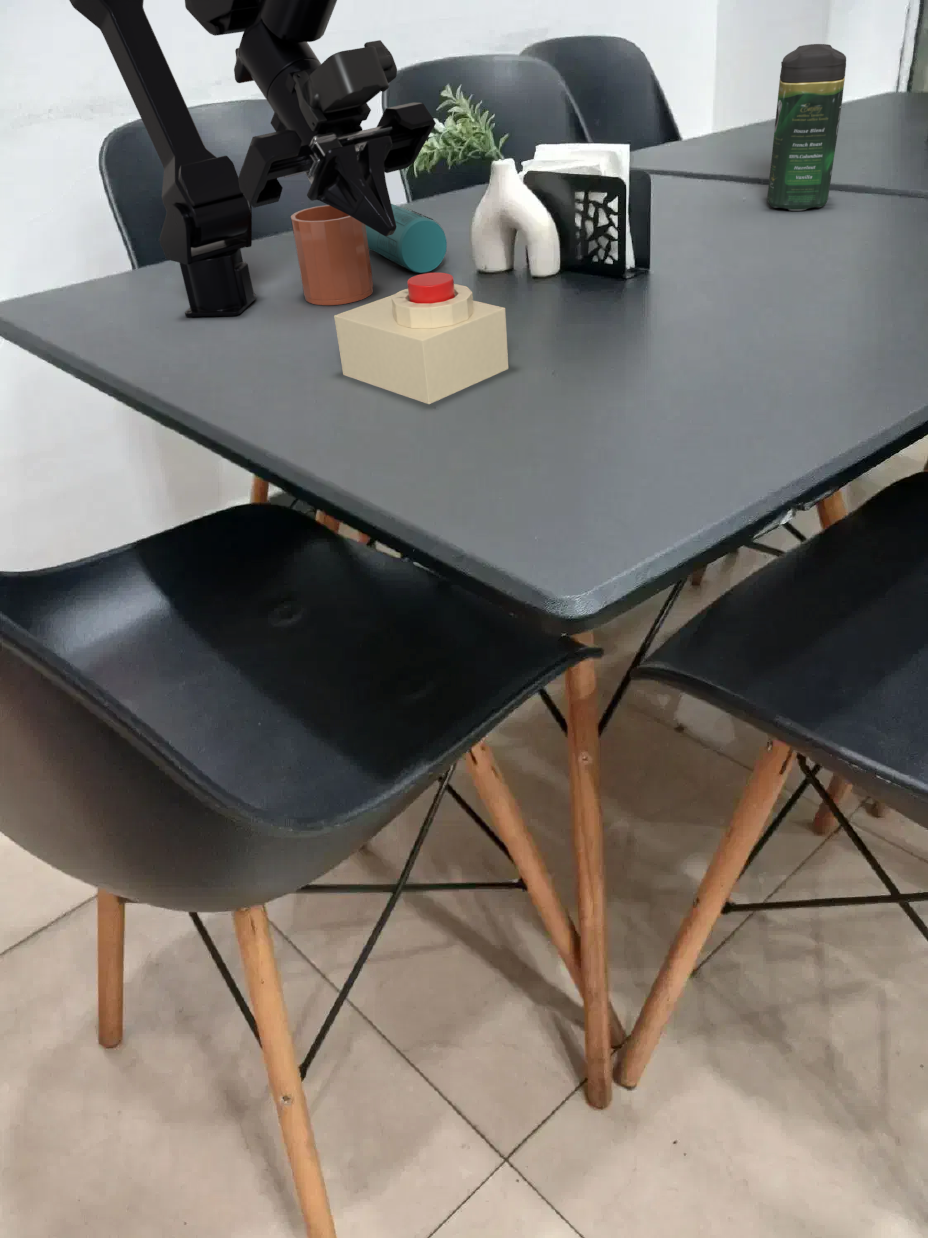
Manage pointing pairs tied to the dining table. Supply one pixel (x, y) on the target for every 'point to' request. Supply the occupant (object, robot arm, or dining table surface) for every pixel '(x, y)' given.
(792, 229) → the dining table surface
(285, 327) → the dining table surface
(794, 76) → the coffee jar
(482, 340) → the red push button box
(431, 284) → the power button
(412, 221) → the beverage bottle
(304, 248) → the terracotta cup
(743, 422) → the dining table surface
